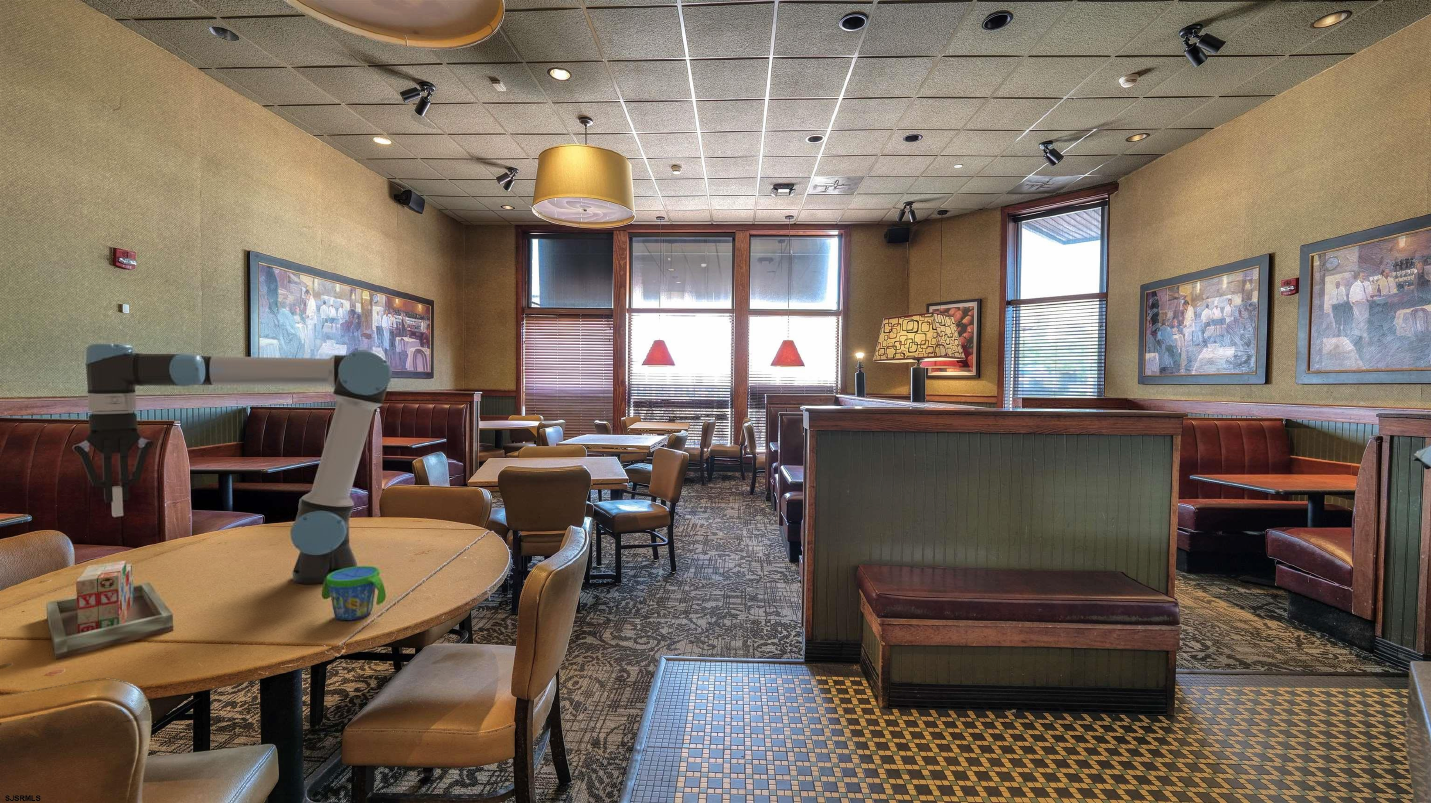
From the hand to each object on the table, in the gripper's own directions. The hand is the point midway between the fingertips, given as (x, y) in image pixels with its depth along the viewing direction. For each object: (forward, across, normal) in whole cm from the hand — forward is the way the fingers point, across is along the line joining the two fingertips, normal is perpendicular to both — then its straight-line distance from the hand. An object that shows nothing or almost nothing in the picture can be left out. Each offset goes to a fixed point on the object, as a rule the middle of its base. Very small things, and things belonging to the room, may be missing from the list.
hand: (117, 515), depth 131 cm
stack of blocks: (+23, -2, 0) cm, 23 cm away
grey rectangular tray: (+24, -2, -1) cm, 24 cm away
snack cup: (+25, +34, -38) cm, 57 cm away
